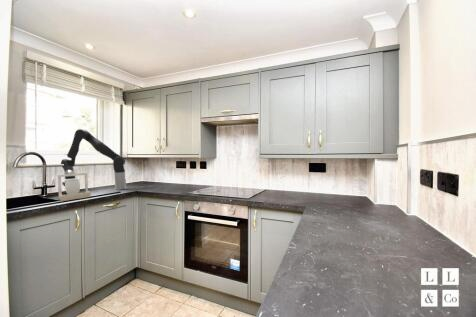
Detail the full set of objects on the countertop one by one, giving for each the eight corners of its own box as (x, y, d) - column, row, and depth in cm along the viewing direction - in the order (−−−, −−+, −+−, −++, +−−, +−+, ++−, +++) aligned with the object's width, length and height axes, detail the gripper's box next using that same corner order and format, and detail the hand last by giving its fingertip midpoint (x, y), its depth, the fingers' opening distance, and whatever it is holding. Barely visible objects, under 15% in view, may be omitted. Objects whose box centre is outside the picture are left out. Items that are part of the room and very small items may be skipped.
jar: (62, 196, 183) (61, 179, 183) (75, 194, 193) (74, 178, 193) (70, 197, 179) (69, 179, 179) (83, 195, 189) (82, 178, 189)
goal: (58, 198, 176) (57, 174, 176) (88, 194, 190) (86, 172, 190) (60, 200, 166) (58, 175, 166) (91, 196, 180) (90, 173, 180)
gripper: (60, 173, 192) (62, 188, 183) (78, 172, 201) (81, 186, 192) (60, 179, 196) (62, 194, 187) (78, 177, 205) (80, 191, 196)
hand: (72, 190), depth 190 cm, fingers closed
